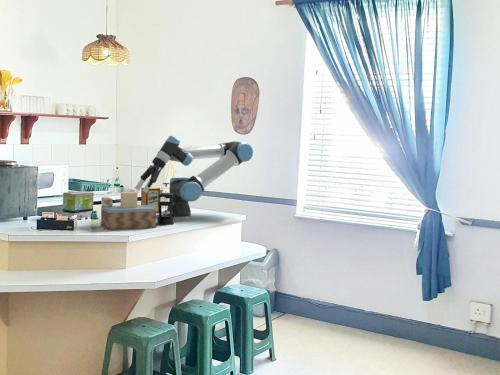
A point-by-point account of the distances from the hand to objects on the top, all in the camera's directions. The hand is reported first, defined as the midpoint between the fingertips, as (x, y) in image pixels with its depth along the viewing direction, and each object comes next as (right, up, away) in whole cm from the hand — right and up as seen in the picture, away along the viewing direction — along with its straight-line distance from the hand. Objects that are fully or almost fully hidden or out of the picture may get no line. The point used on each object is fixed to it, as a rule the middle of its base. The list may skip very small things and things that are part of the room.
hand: (140, 190), depth 353 cm
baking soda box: (0, -14, +32) cm, 35 cm away
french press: (+15, -19, -5) cm, 25 cm away
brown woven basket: (-4, -19, -19) cm, 27 cm away
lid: (-3, -12, -21) cm, 24 cm away
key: (-15, -8, -20) cm, 26 cm away
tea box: (-37, -16, +4) cm, 40 cm away
